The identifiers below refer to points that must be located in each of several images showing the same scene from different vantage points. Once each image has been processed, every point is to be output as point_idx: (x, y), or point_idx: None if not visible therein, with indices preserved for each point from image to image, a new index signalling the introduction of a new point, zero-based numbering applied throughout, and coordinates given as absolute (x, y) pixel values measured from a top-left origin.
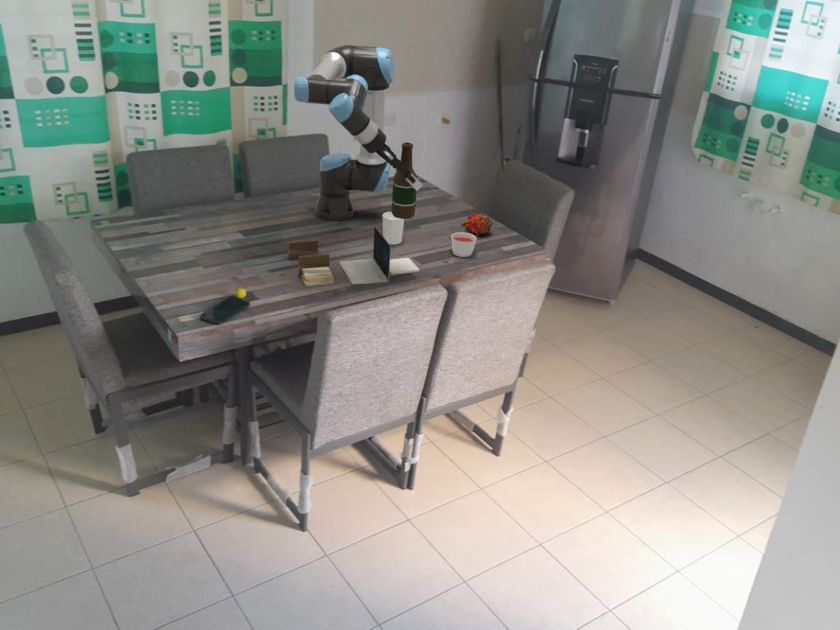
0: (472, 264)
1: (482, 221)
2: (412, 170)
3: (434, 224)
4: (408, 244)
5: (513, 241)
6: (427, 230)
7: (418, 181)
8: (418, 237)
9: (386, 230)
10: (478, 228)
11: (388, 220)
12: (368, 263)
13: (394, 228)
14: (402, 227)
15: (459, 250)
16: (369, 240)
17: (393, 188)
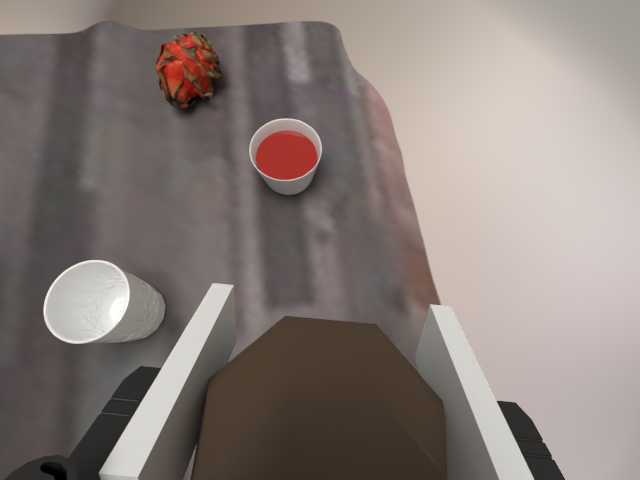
0: (355, 183)
1: (202, 56)
2: (398, 397)
3: (93, 150)
4: (180, 277)
5: (270, 43)
6: (119, 184)
7: (469, 354)
8: (149, 228)
9: (124, 338)
10: (206, 78)
11: (109, 334)
12: None
13: (140, 316)
14: (141, 283)
15: (306, 183)
16: (98, 379)
17: None
